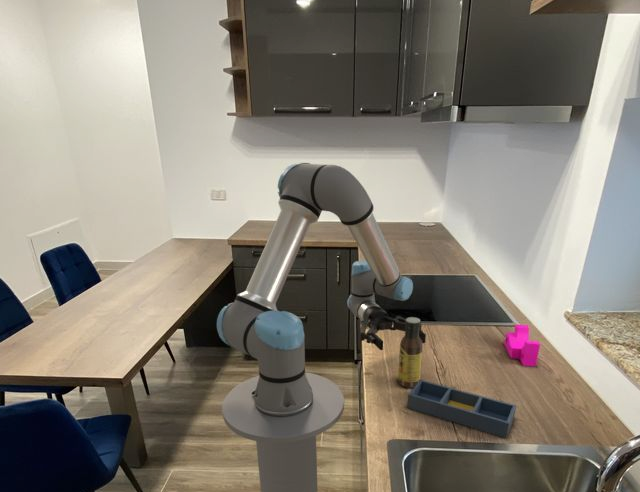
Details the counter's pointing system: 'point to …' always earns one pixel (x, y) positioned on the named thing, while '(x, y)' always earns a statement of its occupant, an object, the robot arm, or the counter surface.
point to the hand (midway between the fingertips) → (403, 342)
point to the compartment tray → (462, 407)
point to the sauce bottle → (410, 354)
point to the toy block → (522, 346)
